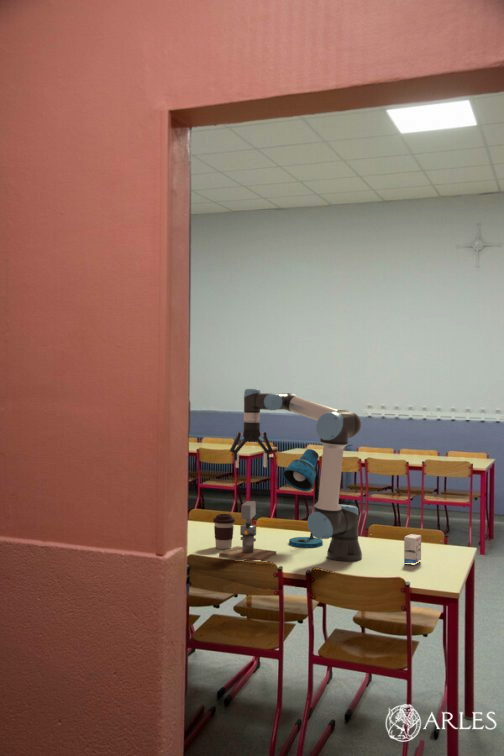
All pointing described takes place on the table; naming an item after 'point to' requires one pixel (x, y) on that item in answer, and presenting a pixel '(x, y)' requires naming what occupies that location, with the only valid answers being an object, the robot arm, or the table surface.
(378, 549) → the table surface
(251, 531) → the twist cap
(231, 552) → the post base
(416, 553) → the ink box
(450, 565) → the table surface
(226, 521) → the coffee cup
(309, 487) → the desk lamp
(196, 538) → the table surface
